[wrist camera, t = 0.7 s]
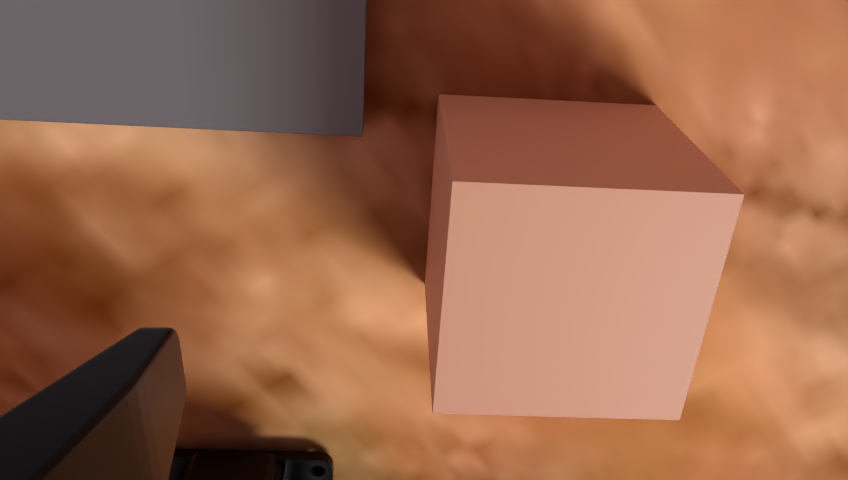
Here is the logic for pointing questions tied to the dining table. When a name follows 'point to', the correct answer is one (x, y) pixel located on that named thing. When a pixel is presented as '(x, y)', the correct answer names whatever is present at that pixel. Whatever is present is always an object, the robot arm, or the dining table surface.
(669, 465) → the dining table surface
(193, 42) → the mat
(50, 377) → the dining table surface
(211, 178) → the dining table surface
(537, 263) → the cube
